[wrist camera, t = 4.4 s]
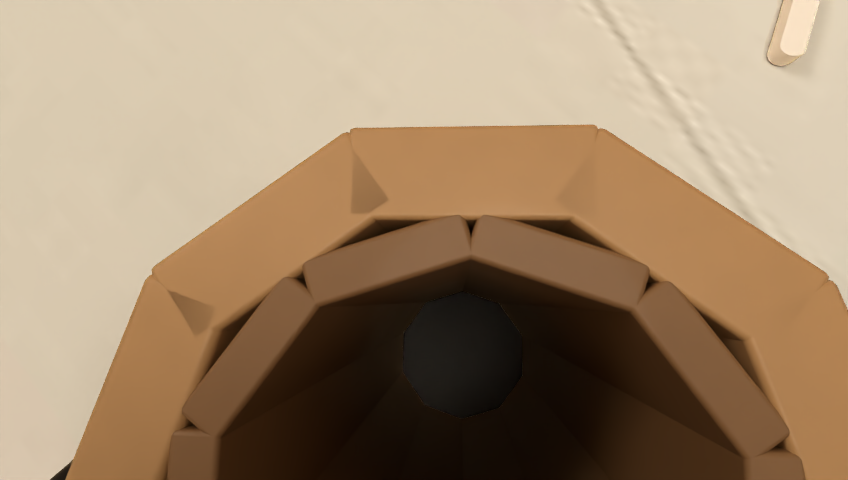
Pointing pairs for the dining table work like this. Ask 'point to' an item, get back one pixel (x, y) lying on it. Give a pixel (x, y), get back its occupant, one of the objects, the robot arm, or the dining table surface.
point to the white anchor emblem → (792, 31)
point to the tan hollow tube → (493, 280)
